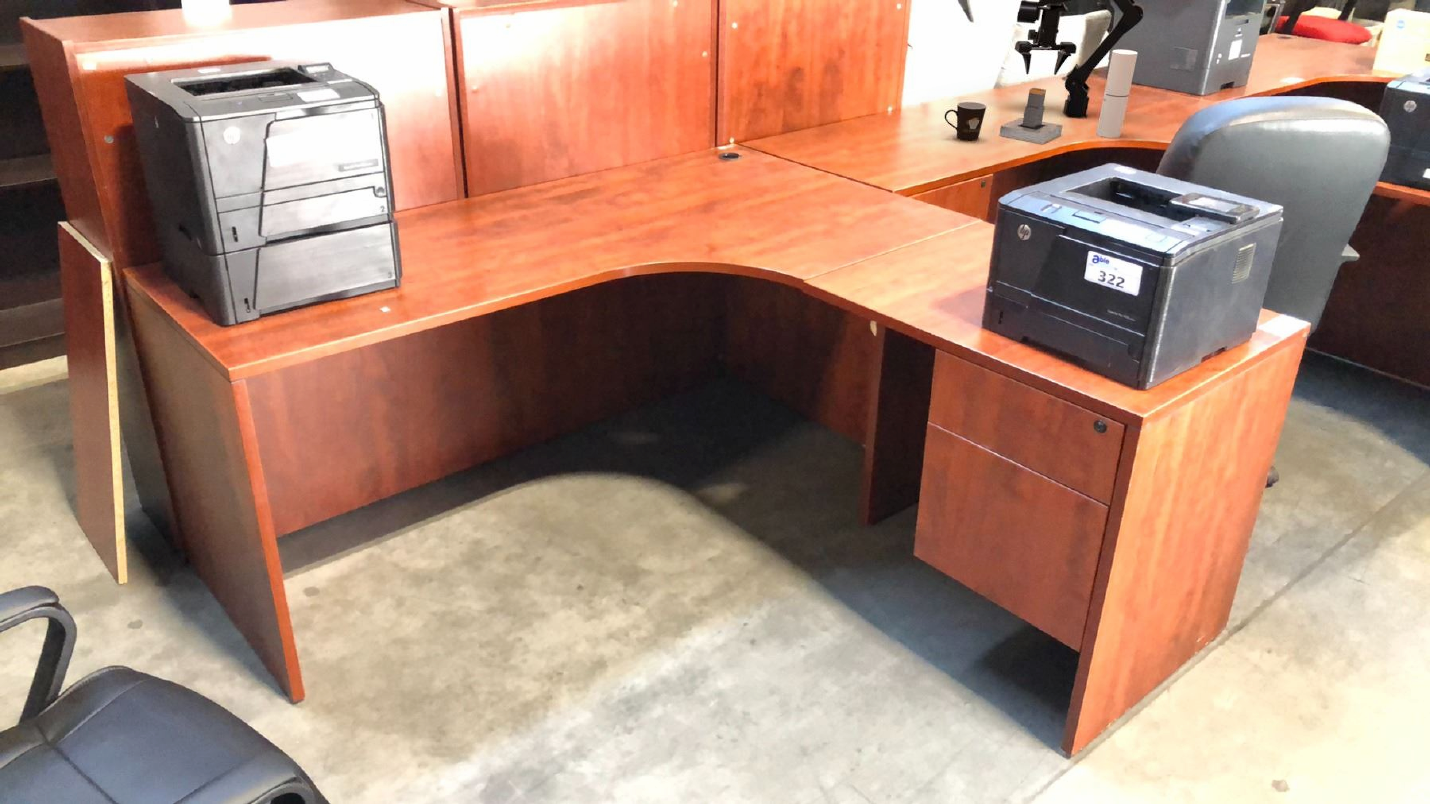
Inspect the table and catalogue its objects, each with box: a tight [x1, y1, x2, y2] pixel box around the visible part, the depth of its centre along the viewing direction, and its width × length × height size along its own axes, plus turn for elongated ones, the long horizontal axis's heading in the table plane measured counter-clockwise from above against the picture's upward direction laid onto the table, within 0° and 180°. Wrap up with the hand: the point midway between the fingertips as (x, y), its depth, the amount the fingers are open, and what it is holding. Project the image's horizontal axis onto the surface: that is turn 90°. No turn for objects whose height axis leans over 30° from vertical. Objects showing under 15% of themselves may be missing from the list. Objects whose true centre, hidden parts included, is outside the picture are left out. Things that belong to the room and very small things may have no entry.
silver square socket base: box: [999, 117, 1064, 145], centre depth 322 cm, size 14×14×3 cm
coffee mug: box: [944, 101, 987, 142], centre depth 316 cm, size 12×9×10 cm
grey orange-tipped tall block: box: [1022, 87, 1047, 130], centre depth 319 cm, size 5×4×14 cm
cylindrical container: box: [1096, 49, 1138, 139], centre depth 319 cm, size 7×7×25 cm
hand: (1041, 74), depth 344 cm, fingers open, 9 cm apart
